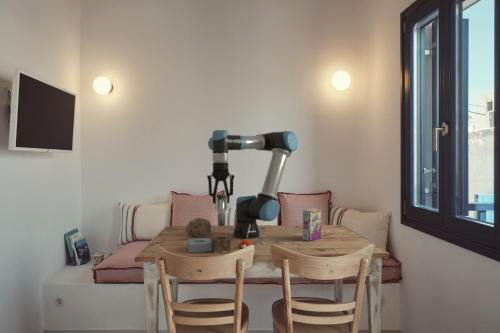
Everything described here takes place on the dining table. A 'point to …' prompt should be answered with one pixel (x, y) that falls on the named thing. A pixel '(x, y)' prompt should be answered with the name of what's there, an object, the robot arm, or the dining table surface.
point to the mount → (221, 243)
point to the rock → (199, 228)
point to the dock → (199, 245)
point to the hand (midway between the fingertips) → (221, 209)
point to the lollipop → (245, 242)
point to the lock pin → (221, 209)
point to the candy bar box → (311, 224)
